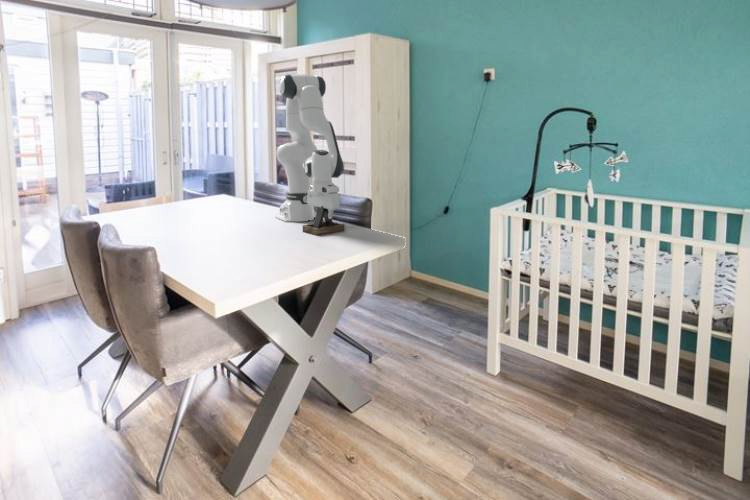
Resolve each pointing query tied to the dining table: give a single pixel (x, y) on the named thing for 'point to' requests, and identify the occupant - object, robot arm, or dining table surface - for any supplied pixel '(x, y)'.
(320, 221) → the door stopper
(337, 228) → the walnut tray
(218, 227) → the dining table surface
